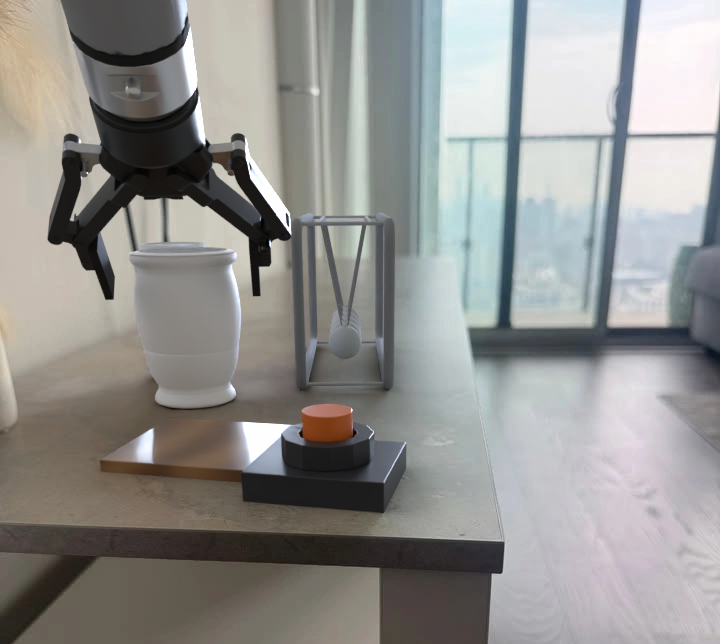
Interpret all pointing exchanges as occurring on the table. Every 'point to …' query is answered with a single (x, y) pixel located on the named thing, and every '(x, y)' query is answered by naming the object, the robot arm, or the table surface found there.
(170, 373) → the jar
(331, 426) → the button
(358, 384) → the newton's cradle
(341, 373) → the table surface
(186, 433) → the plate
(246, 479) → the switch block
